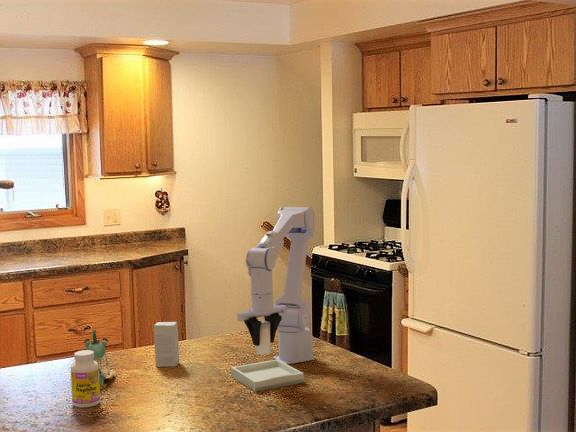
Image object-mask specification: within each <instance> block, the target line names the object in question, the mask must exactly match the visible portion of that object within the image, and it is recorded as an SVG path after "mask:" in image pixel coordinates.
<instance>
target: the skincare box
mask: <svg viewBox="0 0 576 432" xmlns="http://www.w3.org/2000/svg"><path fill="white" fill-rule="evenodd" d="M178 331H179V328H178V321H160V322H159V321H157V322H156V323H155V324H153V336H154V337H153V338H154V355H155V356H154V357H155V367H157V368H158V367H163V368H164V367H177V366H178V364H180V348H179V347H180V346H179V332H178Z"/></svg>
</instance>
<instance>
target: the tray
mask: <svg viewBox="0 0 576 432" xmlns="http://www.w3.org/2000/svg"><path fill="white" fill-rule="evenodd" d="M304 375H305V374H304V372H303V371H300V370H298V369H296V368H295V367H292V366H291V365H290V364H285V363H283V362H282V361H280V360H278V359H272V360H266V361H260V362H254V363H249V364H242V365H238V366H231V367H230V376H231V378H233V379H235V380H236V381H237V382H239V383H241V384H242V385H244V386H245V387H247V388H249V389H250V390H252V391H253V392H255V393H256V392H261V391H267V390H273V389H277V388H278V389H279V388H281V387H282V388H283V387H287V386H293V385H299V384H303V383H305V377H304Z"/></svg>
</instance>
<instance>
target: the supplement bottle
mask: <svg viewBox="0 0 576 432" xmlns="http://www.w3.org/2000/svg"><path fill="white" fill-rule="evenodd" d="M73 357H74V360H75V362H73V363H72V364H71V366H70V380H71V381H70V382H71V403H72V405H73V406H74V407H75V408H80V409H82V408H83V409H85V408H91V407H94V406H97V405H98V404H99V403H100V402H101V389H100V381H99V369H100V364H99V365H98V361H94V360H93V358H94V351H91V350H87V349H86V350H85V349H84V350H83V349H82V350H79V351H76V352H74V355H73Z"/></svg>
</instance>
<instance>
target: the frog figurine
mask: <svg viewBox="0 0 576 432" xmlns="http://www.w3.org/2000/svg"><path fill="white" fill-rule="evenodd" d="M91 332H92V334H91V335H92V340H90V339H89V338H86V339H85V340H84V341H83V344H84V347H85V348H86V350H91V351H94V358H93V360H94V361H96V362H97V363H98V365H99V366H100V368H99V383H100V390H103V389H105V388H107V385H108V383H105V380H107V379H110V380H111V379H112V378H113V377H114V376H115V375H116V371H114V369H107V368H106V369H103V366H102V361H101V360H102V359H103V357H104V356H105V363H106V364H105V365H106V366H109V362H108V358H107V353H106V349H105V348H106V346H107V343H109V340H108V339H107V337H103V338H101V340H102V341H101V342H100V339H98V338H97V331H96V329H94V328H93V329H92V331H91Z"/></svg>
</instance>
